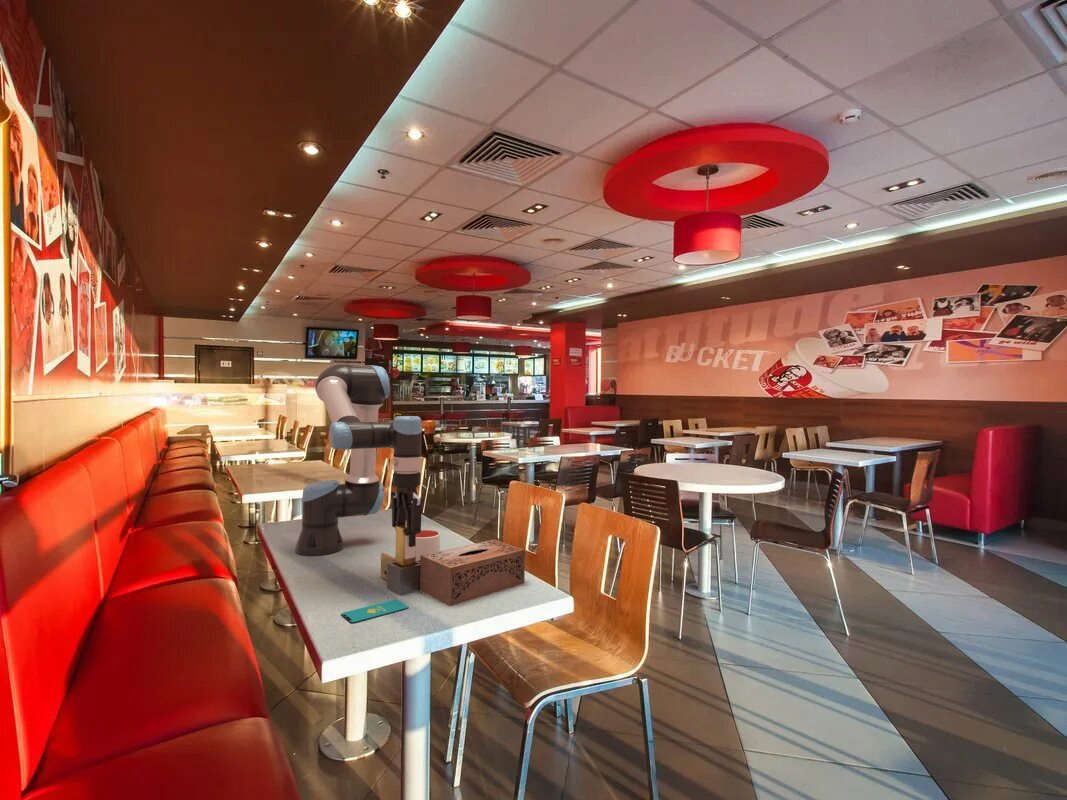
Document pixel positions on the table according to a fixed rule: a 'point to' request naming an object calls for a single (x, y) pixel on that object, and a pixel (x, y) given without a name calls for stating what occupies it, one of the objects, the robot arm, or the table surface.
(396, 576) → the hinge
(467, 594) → the tissue box cover
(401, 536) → the pin
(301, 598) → the table surface
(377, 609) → the smartphone
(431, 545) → the cup
